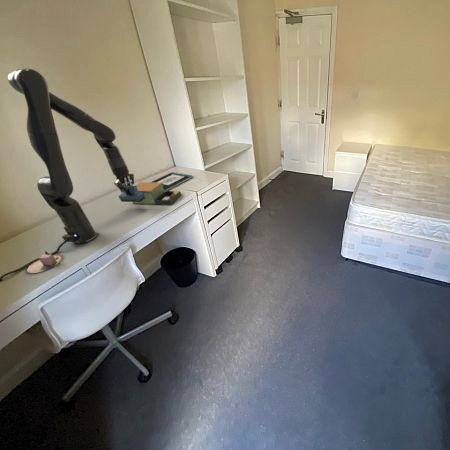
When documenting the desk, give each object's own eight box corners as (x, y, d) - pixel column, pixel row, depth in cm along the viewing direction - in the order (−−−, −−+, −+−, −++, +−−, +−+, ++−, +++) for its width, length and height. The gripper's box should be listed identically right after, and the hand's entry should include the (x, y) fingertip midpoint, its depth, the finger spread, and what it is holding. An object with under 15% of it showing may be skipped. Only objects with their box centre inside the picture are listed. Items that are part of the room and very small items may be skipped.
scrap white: (161, 199, 160) (162, 202, 161) (166, 199, 159) (167, 202, 160) (165, 196, 163) (166, 199, 164) (170, 196, 163) (171, 199, 164)
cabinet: (155, 204, 159) (150, 191, 154) (131, 204, 161) (126, 191, 156) (166, 195, 171) (162, 182, 165) (144, 194, 172) (139, 182, 167)
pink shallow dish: (68, 255, 119) (62, 248, 117) (45, 273, 109) (38, 266, 107) (44, 255, 120) (38, 247, 118) (19, 273, 110) (12, 265, 108)
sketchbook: (139, 189, 180) (138, 186, 179) (172, 173, 203) (172, 171, 202) (162, 193, 173) (161, 190, 172) (193, 177, 196) (192, 174, 195)
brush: (145, 198, 153) (140, 184, 148) (140, 202, 149) (134, 188, 144) (126, 197, 155) (120, 184, 150) (121, 201, 150) (114, 188, 146)
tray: (171, 204, 159) (169, 200, 157) (155, 204, 160) (154, 200, 158) (181, 195, 170) (180, 191, 168) (167, 195, 171) (165, 191, 169)
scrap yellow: (175, 194, 164) (173, 192, 164) (173, 197, 166) (170, 195, 165) (178, 191, 168) (176, 189, 167) (176, 195, 169) (173, 193, 168)
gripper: (120, 160, 146) (132, 188, 156) (102, 170, 135) (116, 199, 144) (132, 160, 145) (143, 188, 155) (115, 170, 134) (128, 199, 143)
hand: (130, 193), depth 149 cm, fingers closed on brush, 2 cm apart
